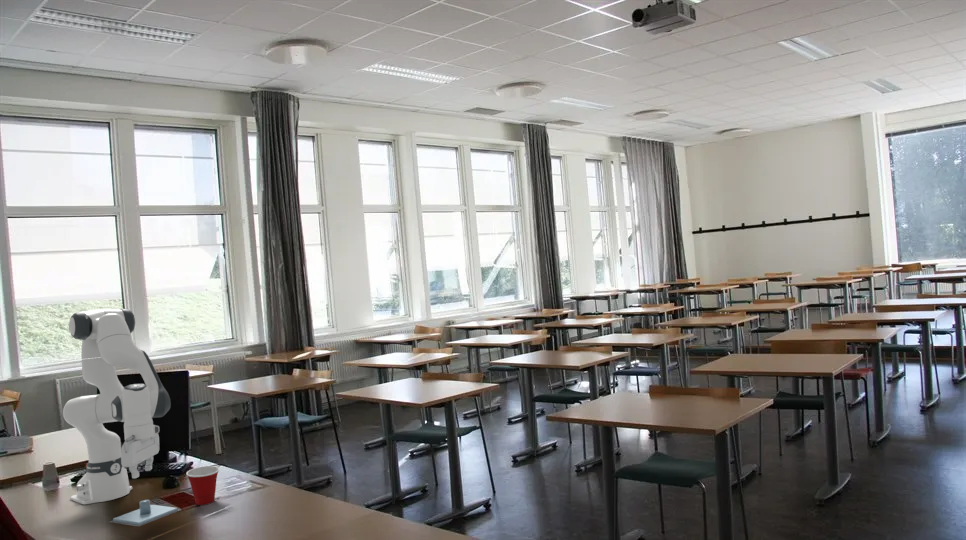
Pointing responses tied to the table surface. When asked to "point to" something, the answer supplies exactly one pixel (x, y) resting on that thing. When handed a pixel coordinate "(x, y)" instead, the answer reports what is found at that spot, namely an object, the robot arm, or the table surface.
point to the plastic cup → (203, 483)
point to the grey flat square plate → (143, 523)
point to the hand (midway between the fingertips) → (142, 474)
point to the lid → (145, 513)
